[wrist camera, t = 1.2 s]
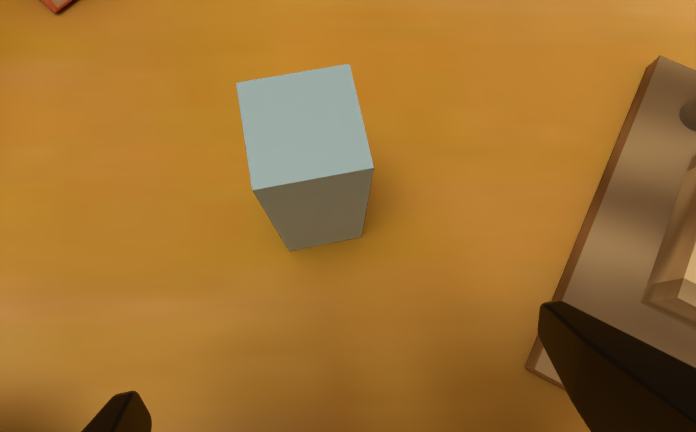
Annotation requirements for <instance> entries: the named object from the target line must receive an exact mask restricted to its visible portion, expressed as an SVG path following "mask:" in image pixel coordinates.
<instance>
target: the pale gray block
mask: <svg viewBox="0 0 696 432" xmlns="http://www.w3.org/2000/svg"><path fill="white" fill-rule="evenodd" d="M236 85H237V92H238V99H239V105H240V112H241V119H242V125H243V132H244V138H245V145H246V152H247V158H248V165H249V171H250V178H251V185H252V190H253V192H254V194H255V195H256V197H257V199H258V200H259V202H260V204H261V205H262V207H263V209H264V210H265V212H266V214H267V215H268V217H269V219H270V220H271V222H272V224H273V225H274V227H275V229H276V230H277V232H278V233H279V235H280V237H281V238H282V240H283V242H284V243H285V245H286V247H287V248H288V250H289V251H293V250H298V249H303V248H308V247H313V246H318V245H323V244H329V243H334V242H339V241H344V240H349V239H354V238H359V237H362V231H363V226H364V220H365V214H366V209H367V203H368V198H369V192H370V187H371V181H372V175H373V170H374V166H373V162H372V158H371V153H370V149H369V145H368V140H367V136H366V132H365V128H364V123H363V119H362V115H361V111H360V106H359V102H358V98H357V94H356V89H355V85H354V81H353V77H352V72H351V68H350V64H345V65H339V66H333V67H327V68H321V69H315V70H310V71H304V72H298V73H292V74H286V75H280V76H274V77H268V78H262V79H256V80H250V81H244V82H238V83H236Z"/></svg>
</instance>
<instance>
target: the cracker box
mask: <svg viewBox="0 0 696 432" xmlns="http://www.w3.org/2000/svg"><path fill="white" fill-rule="evenodd" d="M40 1H41V2H42V3H43V4H44V5H45V6H47V7H48V8H49V9H50V10H51V11H52V12H54V13H55V12H58V11H59V10H60V9H62V8H63V7H64V6H65V5H67V4H68V3H70V2H71V1H72V0H40Z"/></svg>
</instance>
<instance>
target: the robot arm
mask: <svg viewBox="0 0 696 432" xmlns="http://www.w3.org/2000/svg"><path fill="white" fill-rule="evenodd" d="M538 335H539V339H540V341H541V343H542V345H543V347H544V349H545V351H546V353H547V355H548V357H549V359H550V360H551V362H552V364H553V366H554V368H555V370H556V372H557V374H558V376H559V378H560V380H561V382H562V384H563V386H564V388H565V390H566V392H567V394H568V395H569V397H570V399H571V401H572V403H573V404H574V406H575V407H576V409H577V411H578V412H579V414H580V415H581V417H582V418H583V420H584V422H585V423H586V425H587V426H588V428H589V429H590V431H591V432H696V368H695V367H693V366H691V365H689V364H687V363H685V362H683V361H681V360H679V359H677V358H675V357H673V356H671V355H669V354H667V353H665V352H663V351H662V350H660V349H658V348H656V347H654V346H652V345H650V344H648V343H646V342H644V341H642V340H640V339H638V338H636V337H634V336H632V335H630V334H628V333H626V332H624V331H622V330H620V329H618V328H616V327H614V326H612V325H610V324H608V323H606V322H604V321H602V320H600V319H598V318H596V317H594V316H592V315H590V314H588V313H586V312H584V311H582V310H580V309H578V308H576V307H574V306H572V305H570V304H568V303H566V302H564V301H561V300H555V301H550V302H545V303H543V304H542V305H541V306H540V312H539V321H538ZM151 427H152V421H151V416H150V413H149V411H148V410H147V408H146V406H145V404H144V403H143V401H142V399H141V397H140V395H139V394H138V393H137V392H136V391H129V392H124V393H120V394H116V395H115V396H113V397H112V398H111V399H110V400H109V401H108V402H107V404H106V405H105V406H104V407H103V408H102V409H101V410H100V411H99V412H98V414H97V415H96V416H95V417H94V418H93V419H92V420H91V421H90V423H89V424H88V425H87V426H86V427H85V428H84V429H83V430H82V431H81V432H151Z"/></svg>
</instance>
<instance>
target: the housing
mask: <svg viewBox="0 0 696 432" xmlns="http://www.w3.org/2000/svg"><path fill="white" fill-rule="evenodd" d="M555 300H561V301H564V302H566V303H568V304H570V305H572V306H574V307H576V308H578V309H580V310H582V311H584V312H586V313H588V314H590V315H592V316H594V317H596V318H598V319H600V320H602V321H604V322H606V323H608V324H610V325H612V326H614V327H616V328H618V329H620V330H622V331H624V332H626V333H628V334H630V335H632V336H634V337H636V338H638V339H640V340H642V341H644V342H646V343H648V344H650V345H652V346H654V347H656V348H658V349H660V350H662V351H663V352H665V353H667V354H669V355H671V356H673V357H675V358H677V359H679V360H681V361H683V362H685V363H687V364H689V365H691V366H693V367H695V368H696V71H695V70H693V69H691V68H688V67H686V66H684V65H681V64H679V63H677V62H674V61H672V60H670V59H668V58H665V57H663V56H661V55H660V56H659V57H658V58H657V59H656V60H655V61H654V62H653V63H651V64H650V65H649V66H648V67H647V68H646V71H645V73H644V76H643V78H642V81H641V83H640V86H639V88H638V91H637V93H636V95H635V98H634V100H633V103H632V105H631V108H630V110H629V113H628V115H627V118H626V120H625V122H624V125H623V127H622V130H621V132H620V135H619V137H618V140H617V142H616V145H615V147H614V149H613V152H612V154H611V157H610V159H609V162H608V164H607V167H606V169H605V172H604V174H603V177H602V179H601V181H600V184H599V186H598V189H597V191H596V194H595V196H594V199H593V201H592V204H591V206H590V208H589V211H588V213H587V216H586V218H585V221H584V223H583V226H582V228H581V231H580V233H579V235H578V238H577V240H576V243H575V245H574V248H573V250H572V253H571V255H570V258H569V260H568V263H567V265H566V267H565V270H564V272H563V275H562V277H561V280H560V282H559V285H558V287H557V290H556V292H555V294H554V297H553V299H552V301H555ZM525 368H526V369H528V370H530V371H532V372H533V373H535V374H537V375H539V376H541V377H543V378H544V379H546V380H548V381H550V382H552V383H554V384H556V385H557V386H559V387H561V388H563V389H565V388H564V386H563V384H562V382H561V380H560V378H559V376H558V374H557V372H556V370H555V368H554V366H553V364H552V362H551V360H550V359H549V357H548V355H547V353H546V351H545V349H544V347H543V345H542V343H541V341H540V339H539V335H538V336H537V339H536V341H535V344H534V346H533V349H532V351H531V353H530V356H529V358H528V361H527V363H526V366H525Z"/></svg>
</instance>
